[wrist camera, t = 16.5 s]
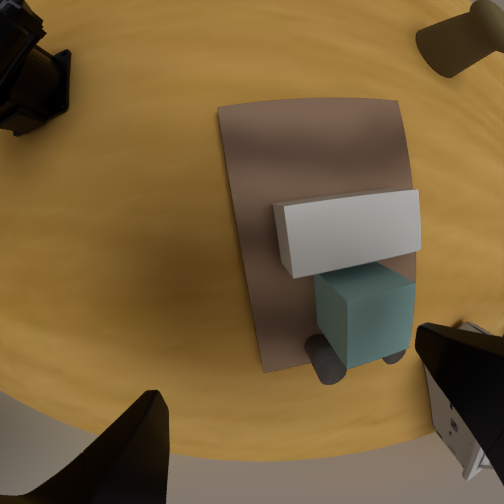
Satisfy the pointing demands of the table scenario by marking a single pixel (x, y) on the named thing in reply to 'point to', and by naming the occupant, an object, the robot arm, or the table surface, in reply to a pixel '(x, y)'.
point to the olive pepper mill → (463, 38)
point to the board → (301, 187)
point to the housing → (347, 229)
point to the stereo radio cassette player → (456, 425)
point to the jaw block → (365, 311)
